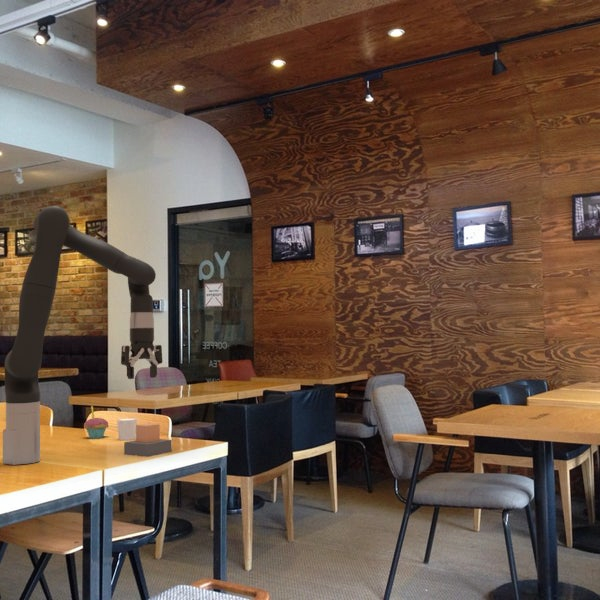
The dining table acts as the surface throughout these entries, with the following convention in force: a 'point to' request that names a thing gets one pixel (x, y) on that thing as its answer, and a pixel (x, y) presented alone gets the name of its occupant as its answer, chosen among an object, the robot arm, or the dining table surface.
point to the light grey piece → (127, 428)
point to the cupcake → (95, 426)
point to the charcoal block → (148, 448)
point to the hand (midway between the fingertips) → (142, 378)
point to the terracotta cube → (147, 433)
